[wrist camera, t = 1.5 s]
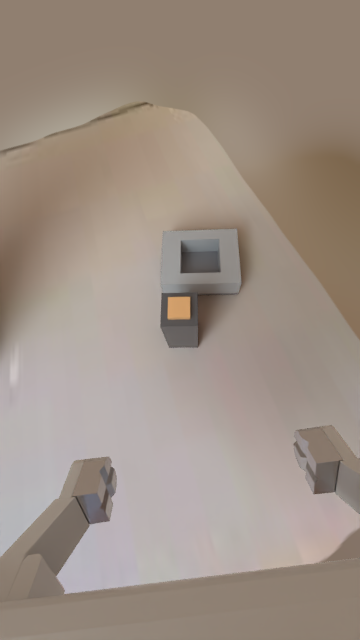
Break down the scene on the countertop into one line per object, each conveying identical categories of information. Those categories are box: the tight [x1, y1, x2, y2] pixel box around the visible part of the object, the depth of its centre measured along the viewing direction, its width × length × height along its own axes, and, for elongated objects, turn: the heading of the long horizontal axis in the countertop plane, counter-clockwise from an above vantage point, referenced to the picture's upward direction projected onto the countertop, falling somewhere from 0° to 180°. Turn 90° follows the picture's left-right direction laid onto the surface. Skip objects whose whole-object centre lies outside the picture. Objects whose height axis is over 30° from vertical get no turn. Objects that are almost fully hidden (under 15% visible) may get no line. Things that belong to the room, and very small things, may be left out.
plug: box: [161, 292, 198, 348], centre depth 32 cm, size 4×4×10 cm
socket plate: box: [161, 229, 241, 295], centre depth 38 cm, size 11×9×4 cm
